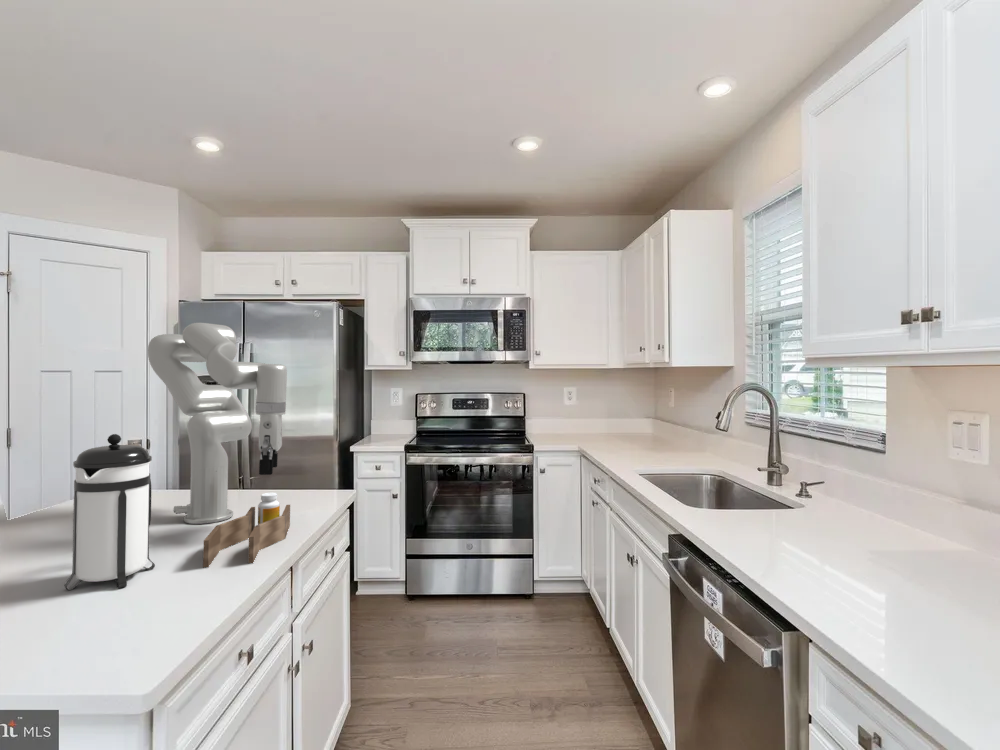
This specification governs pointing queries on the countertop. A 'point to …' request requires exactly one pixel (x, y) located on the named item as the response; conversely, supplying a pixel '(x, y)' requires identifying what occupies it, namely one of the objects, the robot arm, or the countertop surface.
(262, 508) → the supplement bottle
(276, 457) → the robot arm
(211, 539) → the channel
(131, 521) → the coffee press
